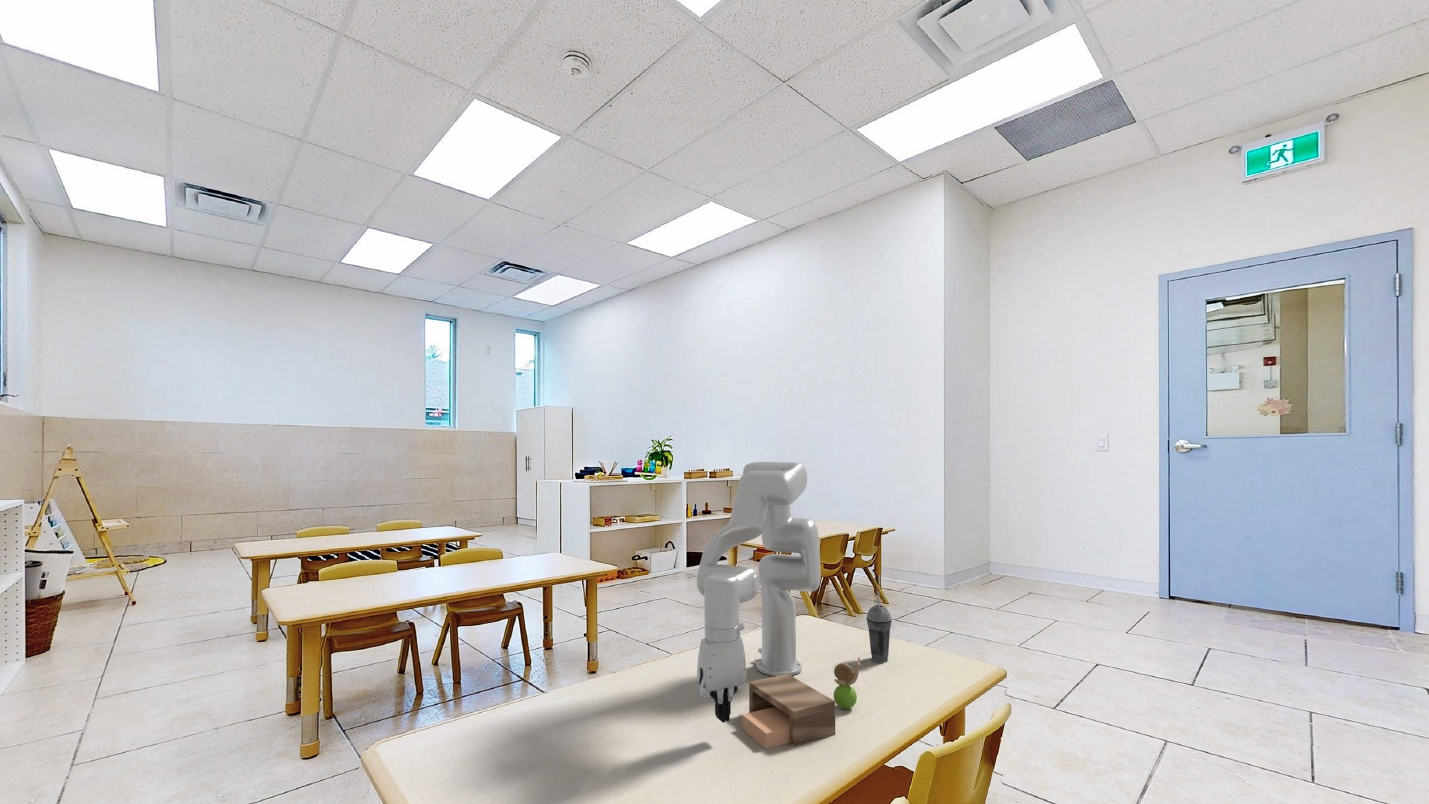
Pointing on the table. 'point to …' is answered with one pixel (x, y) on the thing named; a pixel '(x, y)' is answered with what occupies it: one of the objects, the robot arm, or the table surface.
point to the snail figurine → (845, 685)
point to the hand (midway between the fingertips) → (722, 719)
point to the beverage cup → (879, 632)
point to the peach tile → (768, 726)
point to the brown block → (795, 706)
